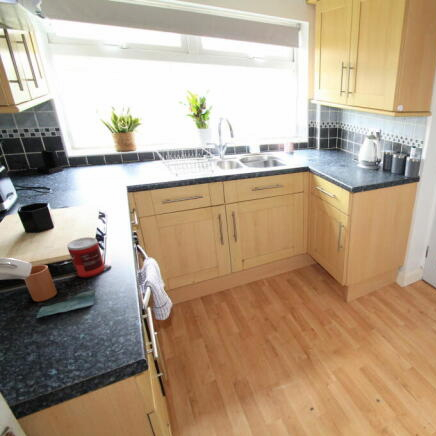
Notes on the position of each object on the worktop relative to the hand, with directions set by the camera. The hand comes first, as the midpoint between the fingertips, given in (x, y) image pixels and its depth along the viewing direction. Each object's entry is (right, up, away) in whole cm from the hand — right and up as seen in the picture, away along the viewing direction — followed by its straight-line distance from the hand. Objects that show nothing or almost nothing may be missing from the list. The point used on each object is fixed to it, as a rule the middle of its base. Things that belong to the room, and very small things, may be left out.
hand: (1, 277), depth 80 cm
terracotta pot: (-2, -8, +15) cm, 17 cm away
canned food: (+3, -3, +27) cm, 27 cm away
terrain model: (+9, -11, +10) cm, 17 cm away
